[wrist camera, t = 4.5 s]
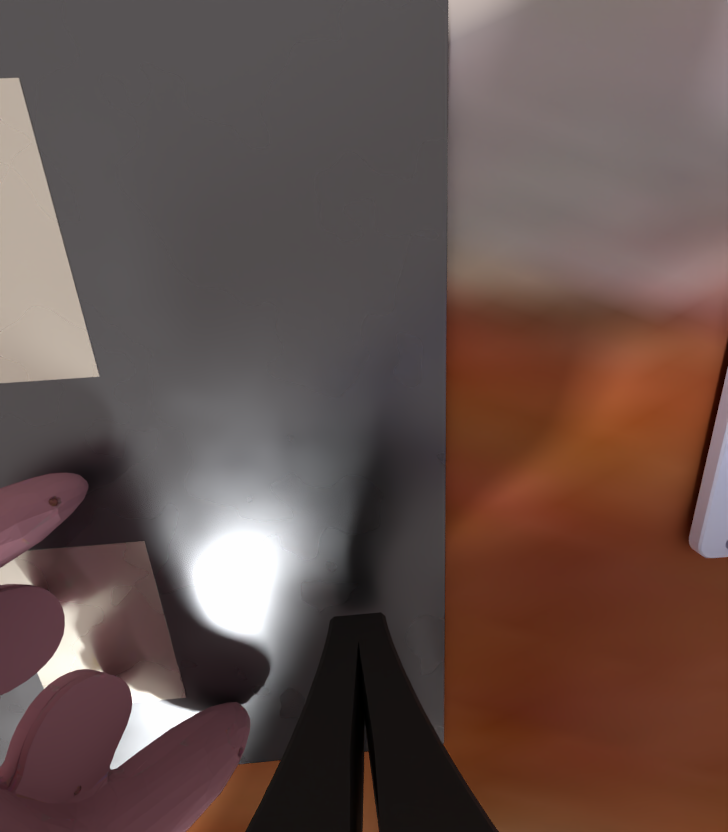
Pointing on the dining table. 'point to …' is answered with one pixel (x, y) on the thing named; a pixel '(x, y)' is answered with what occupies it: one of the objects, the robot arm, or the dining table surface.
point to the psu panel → (227, 341)
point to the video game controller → (91, 711)
